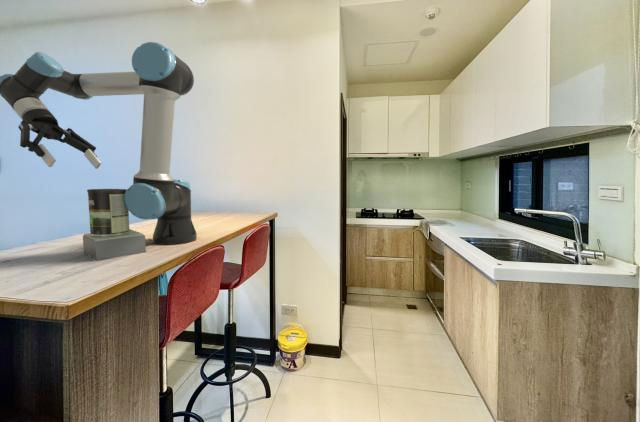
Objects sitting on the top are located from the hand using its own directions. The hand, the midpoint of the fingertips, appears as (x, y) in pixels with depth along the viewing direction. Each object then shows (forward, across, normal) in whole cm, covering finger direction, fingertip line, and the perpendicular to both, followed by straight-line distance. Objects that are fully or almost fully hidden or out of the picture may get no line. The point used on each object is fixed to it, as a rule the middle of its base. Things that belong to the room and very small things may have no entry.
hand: (77, 164), depth 89 cm
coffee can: (+22, -2, -9) cm, 24 cm away
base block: (+27, -2, -12) cm, 29 cm away
